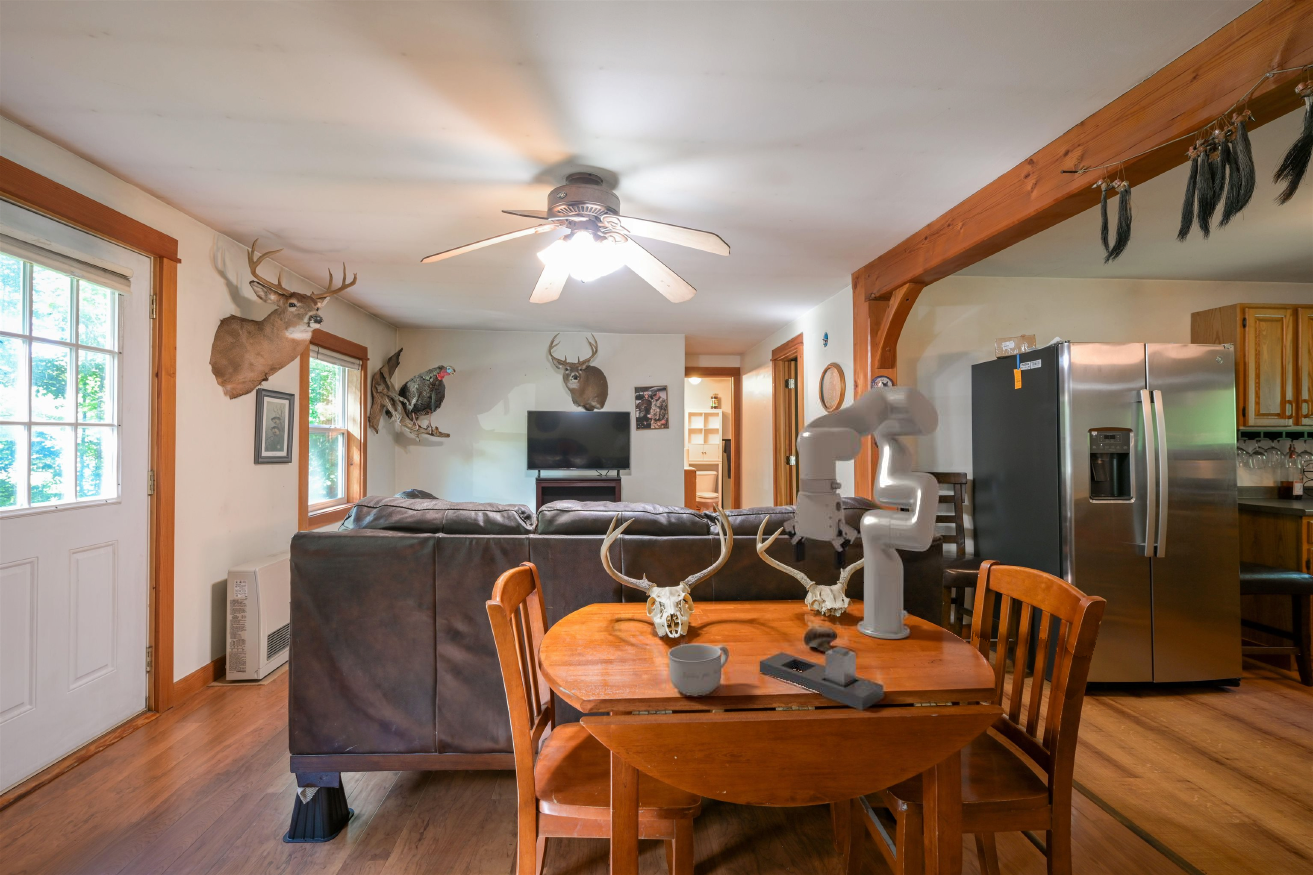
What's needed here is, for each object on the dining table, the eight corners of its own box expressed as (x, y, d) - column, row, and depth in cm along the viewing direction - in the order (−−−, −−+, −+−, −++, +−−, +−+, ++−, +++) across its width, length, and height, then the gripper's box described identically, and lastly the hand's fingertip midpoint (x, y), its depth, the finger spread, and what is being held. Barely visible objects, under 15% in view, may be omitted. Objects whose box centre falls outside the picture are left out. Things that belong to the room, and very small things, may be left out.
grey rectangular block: (836, 685, 124) (836, 644, 124) (855, 692, 121) (855, 649, 121) (825, 691, 121) (825, 649, 121) (844, 698, 118) (844, 654, 118)
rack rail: (759, 672, 131) (759, 661, 131) (781, 663, 136) (781, 651, 136) (862, 710, 113) (862, 697, 113) (883, 697, 119) (883, 684, 119)
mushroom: (840, 644, 139) (830, 618, 142) (807, 655, 140) (797, 629, 144) (844, 650, 145) (834, 625, 149) (812, 661, 147) (803, 635, 150)
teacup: (682, 706, 115) (682, 664, 115) (659, 684, 125) (659, 645, 125) (745, 693, 121) (745, 653, 121) (718, 673, 131) (718, 636, 131)
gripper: (864, 487, 128) (865, 568, 129) (793, 482, 140) (794, 555, 141) (846, 491, 123) (847, 575, 123) (774, 485, 135) (776, 561, 136)
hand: (819, 564), depth 132 cm, fingers open, 9 cm apart
